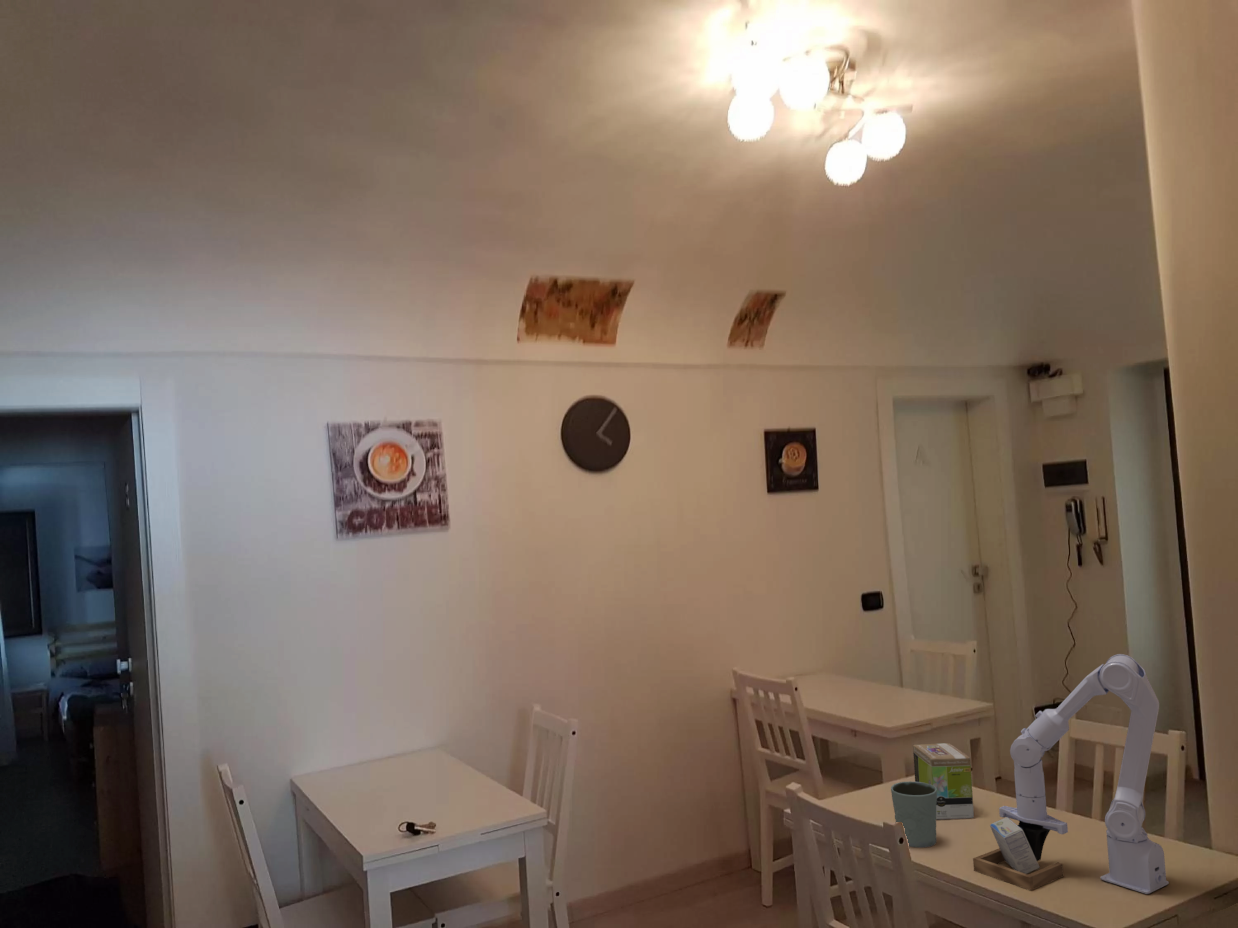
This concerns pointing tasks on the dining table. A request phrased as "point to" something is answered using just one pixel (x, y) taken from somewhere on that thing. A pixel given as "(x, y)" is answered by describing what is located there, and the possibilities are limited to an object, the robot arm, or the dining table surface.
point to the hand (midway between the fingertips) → (1035, 859)
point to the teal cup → (916, 811)
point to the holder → (1031, 881)
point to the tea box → (946, 778)
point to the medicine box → (1014, 846)
